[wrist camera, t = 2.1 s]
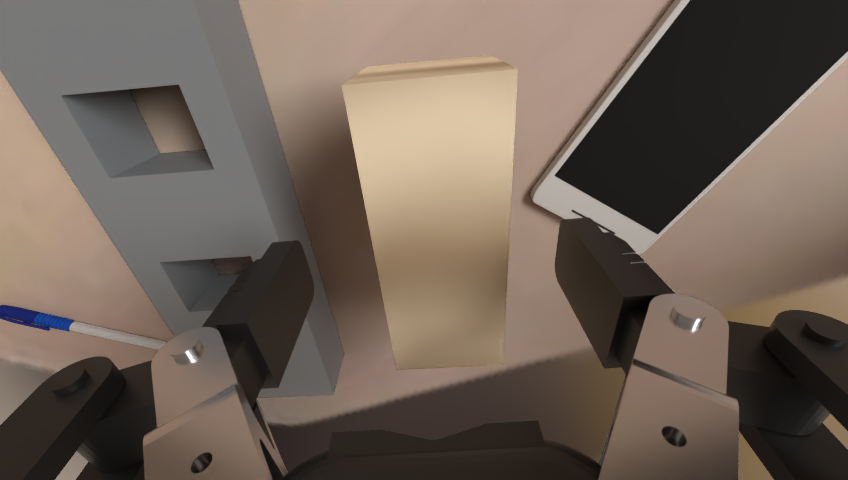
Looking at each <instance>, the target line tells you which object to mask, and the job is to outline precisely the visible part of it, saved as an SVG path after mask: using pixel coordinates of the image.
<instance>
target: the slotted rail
mask: <svg viewBox="0 0 848 480" xmlns="http://www.w3.org/2000/svg"><path fill="white" fill-rule="evenodd" d="M0 70H1V72H2V73H3V75H4V76H5V78H6V79H7V81H8V82H9V84H10V86H11V87H12V89H13V90H14V92H15V93H16V95H17V96H18V98H19V99H20V101H21V102H22V104H23V105H24V107H25V109H26V110H27V112H28V113H29V115H30V116H31V118H32V119H33V121H34V122H35V124H36V125H37V127H38V128H39V130H40V132H41V133H42V135H43V136H44V138H45V139H46V141H47V142H48V144H49V145H50V147H51V148H52V150H53V151H54V153H55V154H56V156H57V158H58V159H59V161H60V162H61V164H62V165H63V167H64V168H65V170H66V171H67V173H68V174H69V176H70V177H71V179H72V181H73V182H74V184H75V185H76V187H77V188H78V190H79V191H80V193H81V194H82V196H83V197H84V199H85V200H86V202H87V204H88V205H89V207H90V208H91V210H92V211H93V213H94V214H95V216H96V217H97V219H98V220H99V222H100V223H101V225H102V227H103V228H104V230H105V231H106V233H107V234H108V236H109V237H110V239H111V240H112V242H113V243H114V245H115V246H116V248H117V249H118V251H119V253H120V254H121V256H122V257H123V259H124V260H125V262H126V263H127V265H128V266H129V268H130V269H131V271H132V272H133V274H134V276H135V277H136V279H137V280H138V282H139V283H140V285H141V286H142V288H143V289H144V291H145V292H146V294H147V295H148V297H149V299H150V300H151V302H152V303H153V305H154V306H155V308H156V309H157V311H158V312H159V314H160V315H161V317H162V318H163V320H164V322H165V323H166V325H167V326H168V328H169V329H170V331H171V332H172V334H173V335H174V337H176V336H177V335H179V334H181V333H183V332H186V331H188V330H191V329H194V328H199V327H202V326H203V324H204V323H205V322H206V320H207V319H208V317H209V316H210V315H211V313H212V312H213V311H214V309H215V308H216V306H217V305H218V304H219V302H220V301H221V300H222V298H223V297H224V295H225V294H228V292H227V291H228V290H229V288H230V287H231V286H232V284H235V280H236V279H237V277H238V276H239V275H240V273H238V274H223V275H219V273H218V271H217V269H216V267H215V265H214V263H213V261H212V259H216V258H231V257H246V256H251V258H252V261H253V262H254V261H255V260H257V259H261V258H262V256H263V255H264V253H265V252H266V250H267V249H268V248H269V246H270V245H271V243H273V242H281V241H294V240H298V241H299V242H300V243H301V244H302V247H303V250H304V253H305V256H306V259H307V262H308V265H309V268H310V271H311V275H312V278H313V281H314V297H313V301H312V303H311V306H310V308H309V311H308V313H307V316H306V319H305V321H304V324H303V326H302V329H301V331H300V334H299V336H298V339H297V342H296V344H295V347H294V349H293V352H292V354H291V357H290V359H289V362H288V365H287V367H286V370H285V372H284V375H283V377H282V380H281V382H280V385H279V388H268V389H261V390H260V392H259V395H258V397H257V398H268V397H290V396H312V395H334V392H335V388H336V384H337V380H338V376H339V372H340V368H341V364H342V360H343V356H344V351H343V348H342V345H341V341H340V338H339V335H338V331H337V328H336V325H335V321H334V318H333V315H332V311H331V308H330V305H329V301H328V298H327V295H326V292H325V288H324V285H323V282H322V278H321V275H320V272H319V268H318V265H317V262H316V258H315V255H314V252H313V248H312V245H311V242H310V238H309V235H308V232H307V228H306V225H305V222H304V219H303V215H302V212H301V209H300V205H299V202H298V199H297V195H296V192H295V189H294V185H293V182H292V179H291V175H290V172H289V169H288V165H287V162H286V159H285V156H284V152H283V149H282V146H281V142H280V139H279V136H278V132H277V129H276V126H275V122H274V119H273V116H272V112H271V109H270V106H269V102H268V99H267V96H266V92H265V89H264V86H263V83H262V79H261V76H260V73H259V69H258V66H257V63H256V59H255V56H254V53H253V49H252V46H251V43H250V39H249V36H248V33H247V29H246V26H245V23H244V20H243V16H242V13H241V10H240V6H239V3H238V0H0ZM168 85H179V86H180V89H181V91H182V94H183V96H184V98H185V101H186V103H187V106H188V108H189V110H190V113H191V115H192V117H193V120H194V122H195V125H196V127H197V129H198V132H199V134H200V137H201V139H202V141H203V144H204V146H205V149H206V150H197V151H185V152H173V153H161V154H160V153H159V151H158V149H157V147H156V145H155V143H154V141H153V138H152V136H151V134H150V132H149V130H148V128H147V126H146V124H145V122H144V120H143V118H142V116H141V114H140V112H139V110H138V108H137V106H136V104H135V102H134V100H133V98H132V96H131V94H130V92H129V90H128V89H137V88H147V87H158V86H168Z"/></svg>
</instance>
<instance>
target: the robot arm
mask: <svg viewBox="0 0 848 480" xmlns="http://www.w3.org/2000/svg"><path fill="white" fill-rule="evenodd" d="M555 273H556V277H557V280H558V283H559V285H560V286H561V288H562V290H563V292H564V294H565V296H566V298H567V299H568V301H569V303H570V305H571V307H572V309H573V311H574V313H575V314H576V316H577V318H578V320H579V322H580V324H581V326H582V328H583V329H584V331H585V333H586V335H587V337H588V339H589V341H590V343H591V344H592V346H593V348H594V350H595V352H596V354H597V356H598V358H599V359H600V361H601V363H602V365H603V367H604V368H617V367H622V368H623V370H624V372H625V374H626V377H625V380H624V383H623V386H622V389H621V392H620V396H619V399H618V402H617V406H616V409H615V413H614V416H613V419H612V422H611V425H610V429H609V432H608V435H607V438H606V442H605V445H604V448H603V451H602V454H601V458H600V460H599V463H597V462H596V461H595V460H593V459H592V458H590V457H589V456H587V455H585V454H583V453H582V452H580V451H578V450H576V449H574V448H572V447H569V446H567V445H565V444H562V443H559V442H556V441H553V440H550V439H546V438H543V436H542V433H541V430H540V426H539V423H538V421H525V422H508V423H490V424H484V425H481V426H478V427H475V428H472V429H469V430H466V431H463V432H460V433H457V434H454V435H451V436H448V437H445V438H442V439H438V440H427V439H423V438H418V437H413V436H409V435H404V434H399V433H395V432H390V431H385V430H370V431H353V432H336V433H332V437H331V441H330V446H329V450H328V451H325V452H322V453H320V454H318V455H316V456H314V457H312V458H310V459H308V460H306V461H305V462H303V463H301V464H300V465H298V466H297V467H295V468H294V469H293V470H291V471H290V472H289V473H288V472H287V470H286V468H285V466H284V464H283V462H282V459H281V457H280V454H279V452H278V449H277V447H276V445H275V442H274V440H273V437H272V434H271V432H270V430H269V427H268V424H267V422H266V419H265V417H264V414H263V412H262V409H261V407H260V405H259V403H258V401H257V397H258V395H259V392H260V390H261V389H268V388H279V385H280V382H281V380H282V377H283V375H284V372H285V370H286V367H287V365H288V362H289V359H290V357H291V354H292V352H293V349H294V347H295V344H296V342H297V339H298V336H299V334H300V331H301V329H302V326H303V324H304V321H305V319H306V316H307V313H308V311H309V308H310V306H311V303H312V301H313V297H314V281H313V278H312V275H311V271H310V268H309V265H308V262H307V259H306V256H305V253H304V250H303V247H302V244H301V243H300V242H299V241H298V240H294V241H281V242H273V243H271V245H270V246H269V248H268V249H267V250H266V252H265V253H264V255H263V256H262V258H261V259H257V260H255V261H254V262H253V263H251V264H250V265H249V266H247V267H246V268H245V269H243V271H242V272H241V273H240V275H239V276H238V277H237V279H236V280H235V284H232V286H231V287H230V288H229V290H228V291H227V292H228V294H225V295H224V297H223V298H222V300H221V301H220V302H219V304H218V305H217V306H216V308H215V309H214V311H213V312H212V313H211V315H210V316H209V317H208V319H207V320H206V322H205V323H204V324H203V326H202V327H199V328H194V329H191V330H188V331H186V332H183V333H181V334H179V335H177V336H176V337H174V338H172V339H171V340H170V341H168V342H167V343H166V344H164V345H163V346H162V347H161V348H160V349H159V350H158V352H157V353H156V354H155V356H154V358H153V360H152V361H148V362H145V363H142V364H138V365H135V366H132V367H128V368H125V369H122V370H118V368H117V367H116V366H115V365H114V364H113V362H112V361H111V360H110V359H109V358H106V357H92V358H87V359H84V360H81V361H78V362H76V363H74V364H71V365H69V366H67V367H65V368H64V369H62V370H60V371H59V372H57V373H55V374H54V375H52V376H51V377H50V378H48V379H47V380H46V381H45V382H43V383H42V384H41V385H40V386H39V387H38V388H37V389H36V390H35V391H34V392H33V393H32V394H31V395H30V396H29V397H28V398H27V399H26V400H25V401H24V402H23V403H22V404H21V405H20V406H19V407H18V408H17V409H16V410H15V411H14V412H13V413H12V414H11V415H10V416H9V417H8V418H7V419H6V420H5V421H4V422H3V423H2V424H1V425H0V480H55V479H56V477H57V476H58V474H59V473H60V472H61V471H62V469H63V467H65V465H66V464H67V463H68V461H69V460H70V459H71V457H72V456H73V455H74V453H75V452H76V451H78V452H79V453H80V454H81V455H82V456H83V457H84V458H86V459H87V460H88V461H89V462H88V463H87V465H86V466H85V468H84V469H83V470H82V472H81V473H80V475H79V476H78V477H77V479H76V480H738V471H739V470H738V468H739V464H738V463H739V431H740V433H741V434H742V435H743V437H744V438H745V440H746V441H747V442H748V444H749V445H750V447H751V448H752V449H753V451H754V452H755V453H756V455H757V456H758V458H759V459H760V461H761V462H762V463H763V465H764V466H765V468H766V469H767V470H768V471H769V473H770V474H771V476H772V477H773V479H774V480H848V450H847V449H846V448H845V446H844V445H843V444H842V443H841V442H840V441H839V440H838V439H837V438H836V437H835V436H834V435H833V434H832V433H831V432H830V431H829V429H828V428H827V427H826V426H825V425H824V424H823V423H822V422H823V421H824V420H825V419H826V418H827V417H828V416H829V414H830V413H831V414H832V415H833V416H834V417H835V418H836V419H837V420H838V421H839V422H840V423H841V424H842V425H843V426H844V427H845V428H846V430H847V431H848V325H847V324H845V323H843V322H841V321H839V320H836V319H833V318H831V317H828V316H825V315H822V314H818V313H814V312H809V311H801V310H789V311H784V312H781V313H779V314H778V315H777V316H776V317H775V319H774V321H773V323H772V324H771V326H770V327H764V326H757V325H750V324H743V323H737V322H730V321H727V320H726V318H725V317H724V316H723V315H722V314H721V312H719V311H718V310H717V309H716V308H714V307H713V306H711V305H710V304H708V303H706V302H704V301H701V300H699V299H697V298H694V297H690V296H686V295H681V294H675V293H674V292H673V291H672V290H671V289H670V288H669V287H668V286H667V285H666V284H665V282H664V281H663V280H662V279H661V278H660V277H659V276H658V275H657V274H656V273H655V272H654V271H653V270H652V269H651V268H650V267H649V266H648V264H647V263H644V260H643V259H642V258H641V257H640V256H639V255H638V254H636V253H635V251H634V250H633V249H632V248H631V246H630V245H629V244H628V243H627V242H626V241H624V240H623V239H621V238H619V237H617V236H615V235H614V234H612V233H610V232H605V233H604V232H603V231H602V230H601V229H600V228H599V227H598V226H597V224H596V223H595V222H594V221H593V220H592V219H591V218H589V217H587V218H575V219H564V220H562V221H561V224H560V228H559V235H558V243H557V251H556V258H555Z"/></svg>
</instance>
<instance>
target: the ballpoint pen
mask: <svg viewBox="0 0 848 480" xmlns="http://www.w3.org/2000/svg"><path fill="white" fill-rule="evenodd" d="M7 317H8V318H7ZM10 318H11V319H10ZM0 319H3V320H6V321H10V322H13V323H17V324H21V325H25V326H30V327H35V328H39V329H44V330H48V331H49V330H50V329H49V327H51V328H55V329H60V330H65V331H73V332H78V333H82V334H87V335H92V336H96V337H101V338H105V339H110V340H114V341H119V342H123V343H128V344H133V345H137V346H142V347H146V348H151V349H155V350H159V349H160V348H161V347H162V346H163V345H164V344H166V343H167V342H166V341H161V340H157V339H152V338H148V337H144V336H139V335H135V334H130V333H126V332H121V331H117V330H112V329H108V328H104V327H99V326H95V325H90V324H86V323H81V322H77V321H74V320H69V319H66V318H62V317H58V316H54V315H53V316H52V315H48V314H44V313H40V312H36V311H31V310H27V309H23V308H18V307H13V306H6V305H1V306H0ZM13 319H16V320H13ZM17 320H20V321H17ZM21 321H24V322H21ZM31 323H34V324H37V325H34V324H31ZM39 325H41V326H39ZM45 326H47V327H45Z"/></svg>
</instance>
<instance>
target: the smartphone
mask: <svg viewBox="0 0 848 480" xmlns="http://www.w3.org/2000/svg"><path fill="white" fill-rule="evenodd" d="M847 58H848V0H674V2H673V3H672V4H671V6H670V7H669V8H668V10H667V11H666V12H665V14H664V15H663V16H662V17H661V19H660V20H659V21H658V23H657V24H656V25H655V27H654V28H653V29H652V31H651V32H650V33H649V35H648V36H647V37H646V39H645V40H644V41H643V43H642V44H641V45H640V47H639V48H638V49H637V51H636V52H635V53H634V54H633V56H632V57H631V58H630V60H629V61H628V62H627V64H626V65H625V66H624V68H623V69H622V70H621V72H620V73H619V74H618V76H617V77H616V78H615V80H614V81H613V82H612V84H611V85H610V86H609V88H608V89H607V90H606V91H605V93H604V94H603V95H602V97H601V98H600V99H599V101H598V102H597V103H596V105H595V106H594V107H593V109H592V110H591V111H590V113H589V114H588V115H587V117H586V118H585V119H584V121H583V122H582V123H581V125H580V126H579V127H578V128H577V130H576V131H575V132H574V134H573V135H572V136H571V138H570V139H569V140H568V142H567V143H566V144H565V146H564V147H563V148H562V150H561V151H560V152H559V154H558V155H557V156H556V158H555V159H554V160H553V162H552V163H551V164H550V165H549V167H548V168H547V169H546V171H545V172H544V173H543V175H542V176H541V177H540V179H539V180H538V181H537V183H536V184H535V185H534V187H533V189H532V191H531V195H530V197H531V199H532V200H533V202H534V203H536V204H537V205H539V206H541V207H543V208H545V209H547V210H549V211H550V212H552V213H554V214H556V215H558V216H560V217H562V218H564V219H575V218H587V217H589V218H591V219H592V220H593V221H594V222H595V223H596V224H597V226H598V227H599V228H600V229H601V230H602V231H603V232H604V233H605V232H610V233H612V234H614V235H615V236H617V237H619V238H621V239H623V240H624V241H626V242H627V243H628V244H629V245H630V246H631V248H632V249H633V250H634V251H635V253H636V254H638V255H640V254H642V253H643V252H645V251H646V250H647V249H648V248H649V247H650V246H651V245H652V244H653V243H654V242H655V241H657V240H658V239H659V238H660V237H661V236H662V235H663V234H664V233H665V232H666V231H667V230H668V229H669V228H670V227H671V226H672V225H673V224H674V223H675V222H676V221H677V220H678V219H680V218H681V217H682V216H683V215H684V214H685V213H686V212H687V211H688V210H689V209H690V208H691V207H692V206H693V205H694V204H695V203H696V202H697V201H698V200H699V199H700V198H701V197H703V196H704V195H705V194H706V193H707V192H708V191H709V190H710V189H711V188H712V187H713V186H714V185H715V184H716V183H717V182H718V181H719V180H720V179H721V178H722V177H723V176H724V175H726V174H727V173H728V172H729V171H730V170H731V169H732V168H733V167H734V166H735V165H736V164H737V163H738V162H739V161H740V160H741V159H742V158H743V157H744V156H745V155H746V154H747V153H748V152H750V151H751V150H752V149H753V148H754V147H755V146H756V145H757V144H758V143H759V142H760V141H761V140H762V139H763V138H764V137H765V136H766V135H767V134H768V133H769V132H770V131H771V130H773V129H774V128H775V127H776V126H777V125H778V124H779V123H780V122H781V121H782V120H783V119H784V118H785V117H786V116H787V115H788V114H789V113H790V112H791V111H792V110H793V109H794V108H796V107H797V106H798V105H799V104H800V103H801V102H802V101H803V100H804V99H805V98H806V97H807V96H808V95H809V94H810V93H811V92H812V91H813V90H814V89H815V88H816V87H817V86H819V85H820V84H821V83H822V82H823V81H824V80H825V79H826V78H827V77H828V76H829V75H830V74H831V73H832V72H833V71H834V70H835V69H836V68H837V67H838V66H839V65H840V64H842V63H843V62H844V61H845V60H846V59H847Z"/></svg>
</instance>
